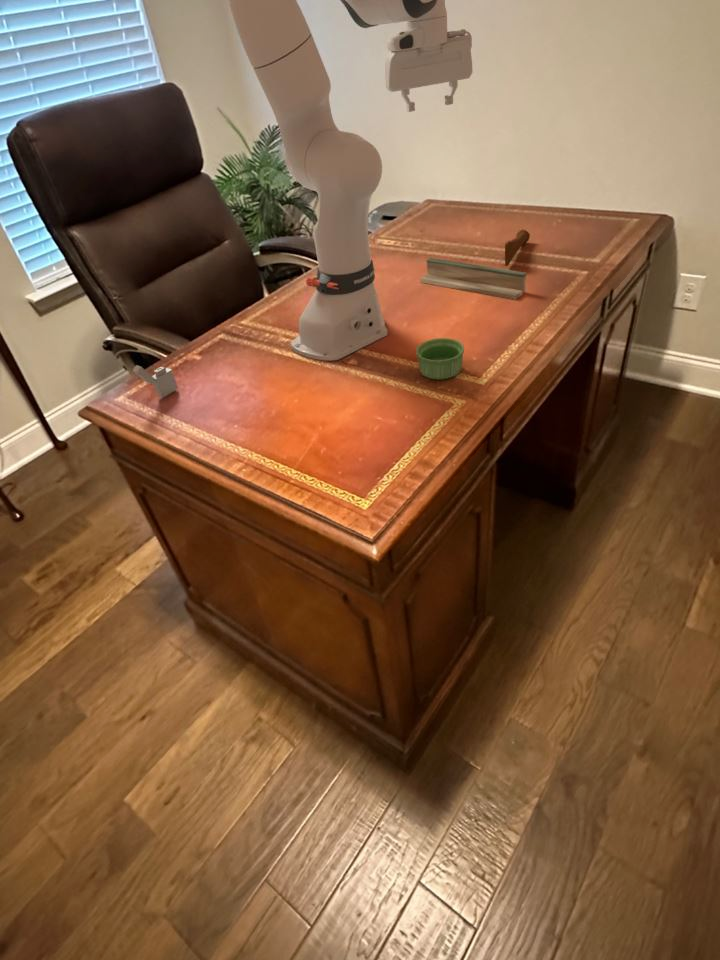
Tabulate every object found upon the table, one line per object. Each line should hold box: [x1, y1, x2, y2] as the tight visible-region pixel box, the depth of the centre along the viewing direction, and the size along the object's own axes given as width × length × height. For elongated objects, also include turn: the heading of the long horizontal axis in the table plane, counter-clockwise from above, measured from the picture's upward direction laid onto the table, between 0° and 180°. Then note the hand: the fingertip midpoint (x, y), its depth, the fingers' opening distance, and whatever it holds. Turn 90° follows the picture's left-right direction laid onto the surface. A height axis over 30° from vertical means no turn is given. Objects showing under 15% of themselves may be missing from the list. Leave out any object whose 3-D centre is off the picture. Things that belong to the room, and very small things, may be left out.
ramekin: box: [415, 337, 465, 380], centre depth 111 cm, size 9×9×4 cm
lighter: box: [132, 364, 179, 398], centre depth 115 cm, size 7×2×8 cm, turn 143°
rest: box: [420, 257, 527, 301], centre depth 139 cm, size 4×26×4 cm, turn 51°
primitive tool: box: [504, 229, 531, 267], centre depth 149 cm, size 19×6×4 cm
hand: (430, 107), depth 139 cm, fingers open, 8 cm apart
